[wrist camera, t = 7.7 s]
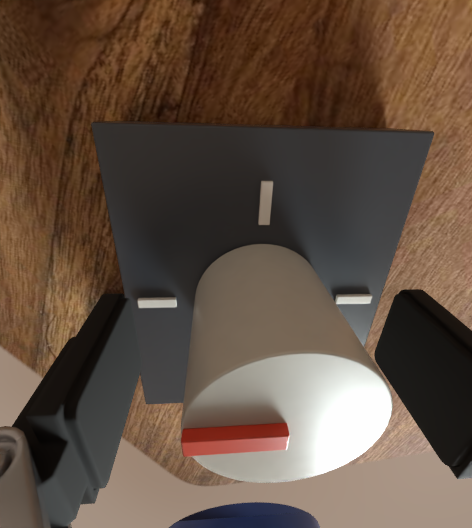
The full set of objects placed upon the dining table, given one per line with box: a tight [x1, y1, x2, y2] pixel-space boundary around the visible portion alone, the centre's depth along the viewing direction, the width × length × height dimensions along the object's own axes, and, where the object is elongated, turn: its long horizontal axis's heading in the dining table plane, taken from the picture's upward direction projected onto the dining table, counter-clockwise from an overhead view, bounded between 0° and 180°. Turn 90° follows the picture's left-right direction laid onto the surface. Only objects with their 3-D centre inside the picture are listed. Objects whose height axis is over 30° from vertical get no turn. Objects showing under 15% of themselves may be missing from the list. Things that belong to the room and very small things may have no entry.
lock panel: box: [91, 121, 434, 404], centre depth 12 cm, size 12×10×3 cm
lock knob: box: [181, 244, 393, 483], centre depth 8 cm, size 5×5×5 cm
